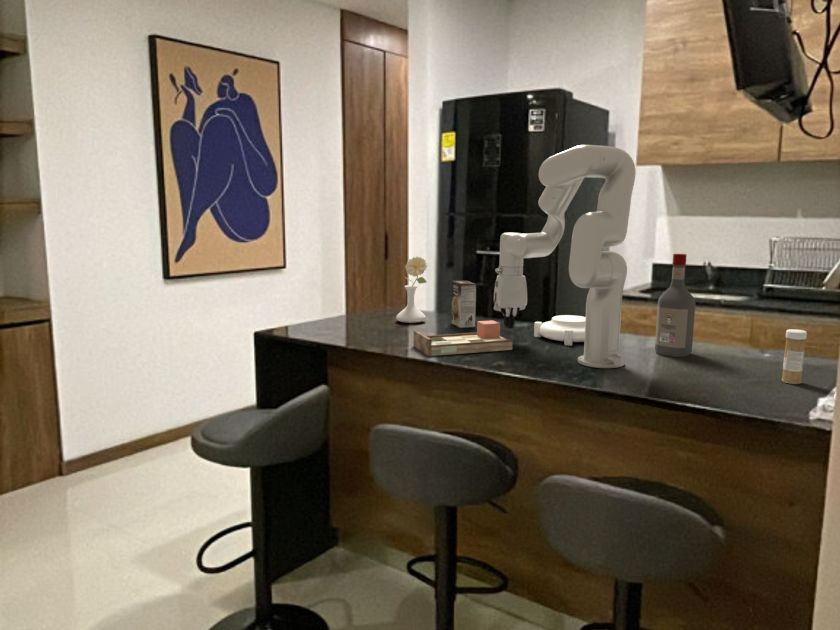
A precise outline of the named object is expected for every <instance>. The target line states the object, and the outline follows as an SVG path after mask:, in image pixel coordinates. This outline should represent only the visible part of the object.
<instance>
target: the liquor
mask: <svg viewBox="0 0 840 630" xmlns="http://www.w3.org/2000/svg"><path fill="white" fill-rule="evenodd" d="M672 257H673V258H672V274H671V283H670V286H669V287H668V288H667V289H666V290H665V291H664V292H663V293H662V294H661V295H660V296H659V297H658V300H657V307H656V308H657V309H656V323H655V324H656V325H655V340H654V350H655V352H656V354H657V355H660V356H665V357H672V358H684V357H687V356H690V355H691V353H692V351H693V339H694V328H695V327H694V326H695V325H694V324H695V315H696V299H695V297H694V296H693V295H692V293H691V292H690V291H689V289H687V288H686V284H685V275H686V266H687V265H686V264H687V254H686V253H673V254H672Z"/></svg>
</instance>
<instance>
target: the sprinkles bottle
mask: <svg viewBox="0 0 840 630" xmlns="http://www.w3.org/2000/svg"><path fill="white" fill-rule="evenodd" d="M807 337H808V333H807V331H806V330H803V329H796V328H795V329H793V328H791V329H790V328H789V329H786V331H785V348H784V354H783V361H782V362H783V364H782V378H781V381H782V382H783V383H786V384H792V385H799V384H801V383H802V373H803V369H804V359H805V358H804V357H805V349H806V348H805V346H806V339H807Z"/></svg>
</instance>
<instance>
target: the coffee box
mask: <svg viewBox="0 0 840 630" xmlns="http://www.w3.org/2000/svg"><path fill="white" fill-rule="evenodd" d="M476 302H477V283H475V282H471V281H469V280H452V281H451V324H452V325H454V326H456V327H458V329H459V328H460V329H463V328H476V307H477V305H476V304H477V303H476Z"/></svg>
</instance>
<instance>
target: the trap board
mask: <svg viewBox="0 0 840 630" xmlns="http://www.w3.org/2000/svg"><path fill="white" fill-rule="evenodd" d="M413 347H414V348H415V349H417V350H418V351H420V352H422V353H423V354H424V355H426V356H427V357H431V356H432V357H433V356H447V355H458V354H459V355H461V354H472V353H474V354H475V353H486V352H498V351H499V352H500V351H512V350H513V339H507V338H505V337H503V336H501V335H500V337H496V338H482V337H480V336H478V335H477V332H467V333H466V332H464V333H463V332H462V333H450V334H449V333H448V334H434V335H433V334H432V335H425V334H423V333H421V332H420V331H419V330H413Z"/></svg>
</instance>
